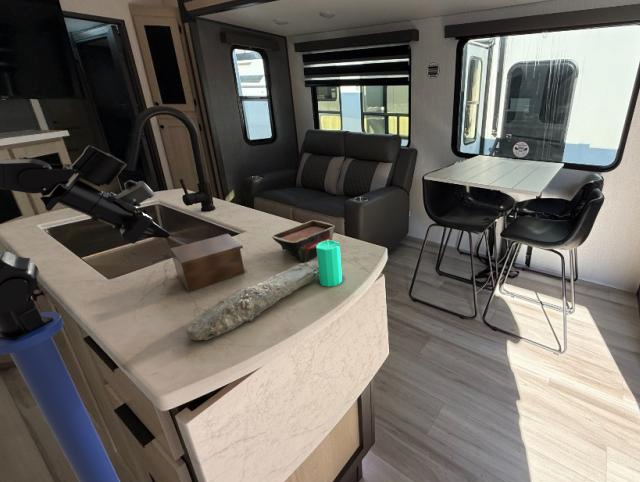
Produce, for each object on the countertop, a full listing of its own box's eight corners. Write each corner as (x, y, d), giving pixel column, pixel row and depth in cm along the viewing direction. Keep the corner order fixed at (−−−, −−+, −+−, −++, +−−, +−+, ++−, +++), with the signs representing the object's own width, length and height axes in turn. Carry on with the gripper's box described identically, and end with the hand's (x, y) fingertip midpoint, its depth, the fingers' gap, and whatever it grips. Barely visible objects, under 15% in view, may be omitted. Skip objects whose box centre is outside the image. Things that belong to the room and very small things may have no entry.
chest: (229, 259, 96) (225, 236, 94) (244, 272, 89) (240, 248, 86) (177, 275, 87) (170, 251, 85) (188, 291, 79) (181, 266, 77)
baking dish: (273, 257, 101) (265, 231, 96) (318, 233, 113) (313, 208, 108) (299, 275, 93) (292, 247, 88) (345, 247, 105) (341, 221, 100)
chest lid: (228, 236, 94) (227, 233, 94) (243, 248, 87) (242, 245, 86) (170, 251, 85) (169, 248, 84) (181, 265, 77) (181, 263, 77)
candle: (331, 289, 81) (327, 246, 77) (314, 282, 84) (310, 240, 80) (347, 278, 86) (344, 237, 81) (330, 272, 88) (327, 233, 84)
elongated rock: (333, 277, 88) (307, 270, 93) (331, 260, 87) (305, 253, 92) (205, 351, 59) (178, 335, 64) (199, 327, 58) (172, 312, 63)
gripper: (126, 178, 63) (201, 217, 74) (115, 166, 75) (180, 201, 86) (86, 226, 60) (169, 258, 72) (81, 205, 73) (153, 236, 84)
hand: (169, 235), depth 78 cm, fingers closed
